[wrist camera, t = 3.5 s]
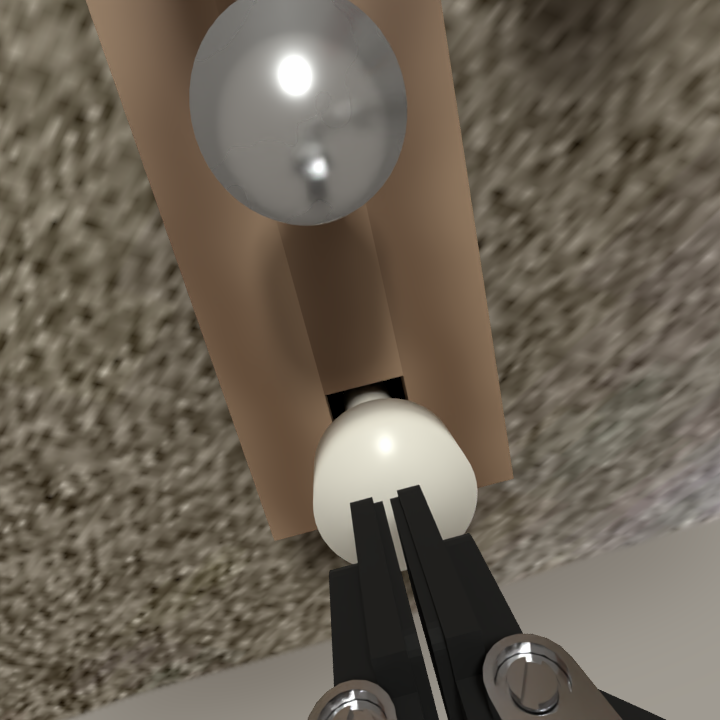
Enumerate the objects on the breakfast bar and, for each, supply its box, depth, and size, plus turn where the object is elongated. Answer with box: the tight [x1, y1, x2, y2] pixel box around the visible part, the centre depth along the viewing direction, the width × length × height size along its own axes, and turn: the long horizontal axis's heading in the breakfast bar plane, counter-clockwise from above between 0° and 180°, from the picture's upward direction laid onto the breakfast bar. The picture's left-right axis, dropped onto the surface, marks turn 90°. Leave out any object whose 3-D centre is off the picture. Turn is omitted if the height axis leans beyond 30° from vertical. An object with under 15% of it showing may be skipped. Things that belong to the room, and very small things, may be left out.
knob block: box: [86, 0, 514, 541], centre depth 17 cm, size 10×27×6 cm, turn 13°
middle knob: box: [189, 0, 407, 226], centre depth 13 cm, size 4×4×8 cm
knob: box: [313, 381, 477, 571], centre depth 16 cm, size 4×4×8 cm
